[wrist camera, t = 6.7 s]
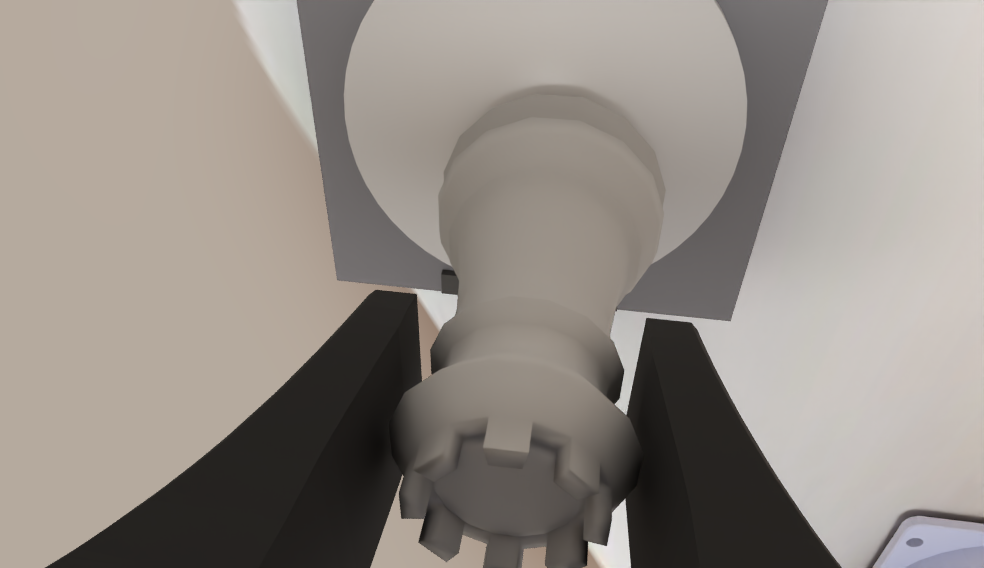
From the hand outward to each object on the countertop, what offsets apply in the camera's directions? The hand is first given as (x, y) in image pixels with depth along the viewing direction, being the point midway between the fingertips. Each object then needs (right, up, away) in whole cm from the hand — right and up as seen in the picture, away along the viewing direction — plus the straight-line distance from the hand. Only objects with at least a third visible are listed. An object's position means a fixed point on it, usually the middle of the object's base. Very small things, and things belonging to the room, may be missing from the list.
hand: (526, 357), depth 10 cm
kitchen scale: (+1, +6, +6) cm, 8 cm away
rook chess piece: (+1, +3, +4) cm, 6 cm away
